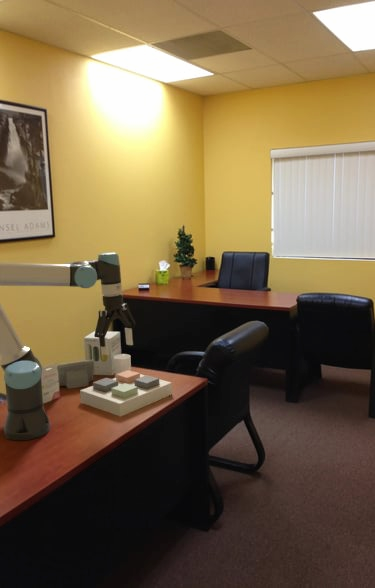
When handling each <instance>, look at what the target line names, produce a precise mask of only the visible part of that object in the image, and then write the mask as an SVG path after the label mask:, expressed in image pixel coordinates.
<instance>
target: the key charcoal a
mask: <svg viewBox="0 0 375 588" xmlns="http://www.w3.org/2000/svg"><path fill="white" fill-rule="evenodd" d="M113 379H114V378H109V377H104V378H101V379H99V380H97V381H93V382H92V386H93V389H95V390H98V391H101V392H108V391H110V390H112V389H111V388H113V387H116V386H118V381H116V380H113Z"/></svg>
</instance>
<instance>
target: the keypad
mask: <svg viewBox="0 0 375 588" xmlns="http://www.w3.org/2000/svg"><path fill="white" fill-rule="evenodd" d="M143 376H146V375H144V374H141V373H140V377H143ZM112 379H113V380H116V378H115V377H114V378H112ZM121 384H124V383H122V382H119V381H118V386H119V385H121ZM129 384H130V385H133V386H135V383H134V382H132V383H129ZM171 394H172V395H173V384H172V382H171V381H168V380H164V379H160V378H159V385H158V386H155V387H153V388H150V389H148V390H146V389H143V388H139V387H138V394H135V395H133V396H130V397H128V398H125V399H123V398H120V397H117V396H114V395H112V390H110V391H108V392H101V391H98V390H95V389H93V385H92V386H87V387H86V388H85V387H84V388H83V389H80V390H79V395H80V397H79V398H80V403H82V404H84V405H87V406H90V407H92V408H95V409H98V410H101V411H104V412H106V413H110V414H112V415H115V416H118V417H120V418H121V417H123V416H126V415H128V414H130V413H133V412H135V411H137V410H139V409H141V408H144V407H146V406H149V405H150V404H154V403H155V402H157V401H160V400H163V399H165V398H167V397H169V395H170V396H172V395H171ZM162 398H163V399H162Z"/></svg>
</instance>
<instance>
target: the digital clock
mask: <svg viewBox="0 0 375 588" xmlns="http://www.w3.org/2000/svg"><path fill="white" fill-rule="evenodd" d="M57 370H58V380H59V387H64V386H65V387H66V388H67V390H71V389H77V388H83V387H84V388H85V387H90V386H89V382H92V381H93V380H94V376H95V375H94V360H85V359H84V360H79V361H72V362H65V363H60V364H58V365H57Z"/></svg>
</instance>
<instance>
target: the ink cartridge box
mask: <svg viewBox="0 0 375 588" xmlns="http://www.w3.org/2000/svg"><path fill="white" fill-rule="evenodd" d="M57 366H58V365H57V362H54V363H50V364H47V365H45V366H42V375H41V383H42V397H43V405H44V404H47V403H49V402H51V401H54V400H56V399H59V398H60V397H61V394H60V386H59V380H58V370H57Z"/></svg>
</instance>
